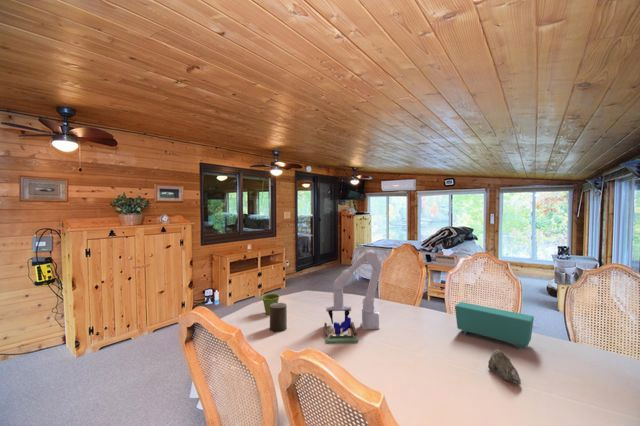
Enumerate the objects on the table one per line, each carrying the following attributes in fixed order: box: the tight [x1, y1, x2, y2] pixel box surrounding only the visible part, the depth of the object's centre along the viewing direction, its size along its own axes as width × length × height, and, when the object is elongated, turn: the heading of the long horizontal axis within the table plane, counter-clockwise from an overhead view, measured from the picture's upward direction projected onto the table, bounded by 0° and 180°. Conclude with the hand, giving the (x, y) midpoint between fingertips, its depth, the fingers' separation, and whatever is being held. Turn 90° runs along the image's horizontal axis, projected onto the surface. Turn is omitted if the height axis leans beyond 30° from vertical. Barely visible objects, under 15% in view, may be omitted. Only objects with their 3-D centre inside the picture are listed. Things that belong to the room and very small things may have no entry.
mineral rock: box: [487, 348, 522, 386], centre depth 118 cm, size 13×11×10 cm
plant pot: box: [261, 293, 281, 316], centre depth 193 cm, size 12×12×11 cm
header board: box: [325, 328, 359, 344], centre depth 152 cm, size 16×6×5 cm, turn 91°
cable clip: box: [333, 316, 352, 335], centre depth 165 cm, size 12×4×6 cm, turn 139°
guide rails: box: [324, 321, 358, 338], centre depth 164 cm, size 17×15×2 cm
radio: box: [454, 301, 535, 350], centre depth 152 cm, size 34×10×15 cm, turn 47°
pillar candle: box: [269, 302, 288, 333], centre depth 169 cm, size 10×10×15 cm
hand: (338, 323), depth 172 cm, fingers open, 7 cm apart
